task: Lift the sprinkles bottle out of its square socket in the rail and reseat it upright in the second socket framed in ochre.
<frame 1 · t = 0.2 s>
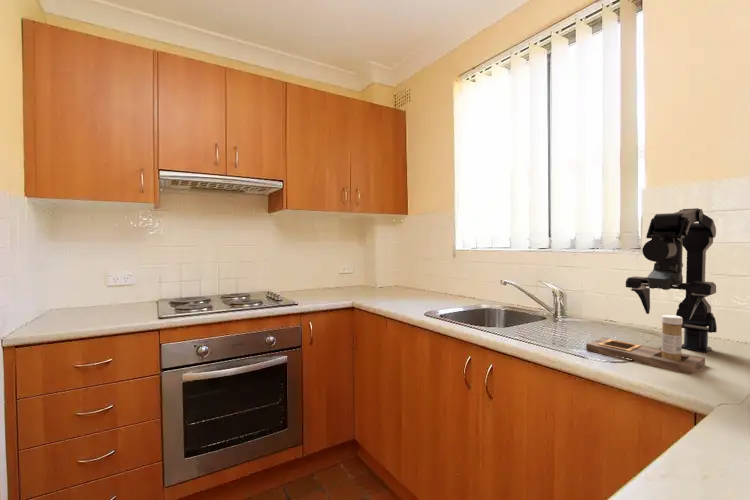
hand: (667, 316, 102), 14 cm above the counter, fingers open, 9 cm apart
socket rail: (641, 357, 110), on the counter
sprinkles bottle: (670, 364, 104), resting in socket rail
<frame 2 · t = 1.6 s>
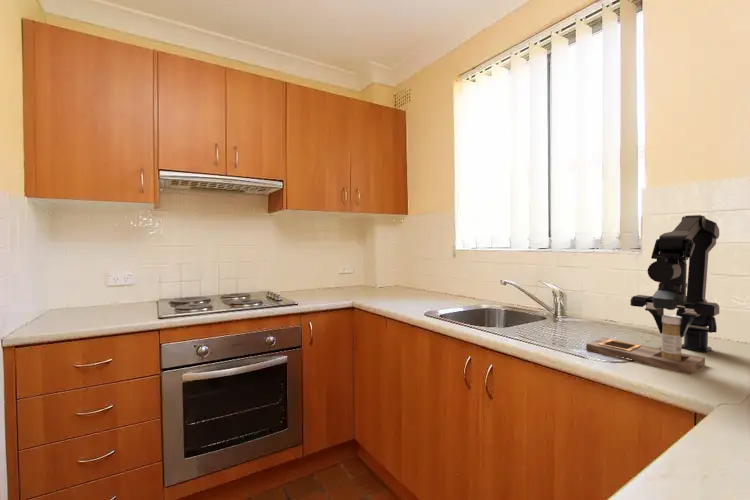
hand: (671, 335, 104), 8 cm above the counter, fingers closed on sprinkles bottle, 4 cm apart
sprinkles bottle: (670, 364, 104), resting in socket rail, touching gripper
when the fingers open (9 cm above the counter, at t = 5.4 s): sprinkles bottle drops 1 cm, resting in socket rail.
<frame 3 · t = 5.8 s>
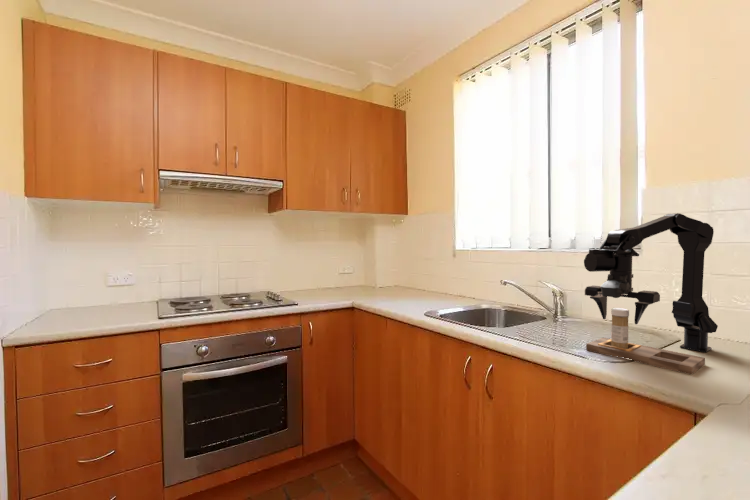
hand: (619, 321, 115), 9 cm above the counter, fingers open, 8 cm apart
sprinkles bottle: (619, 352, 115), resting in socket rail
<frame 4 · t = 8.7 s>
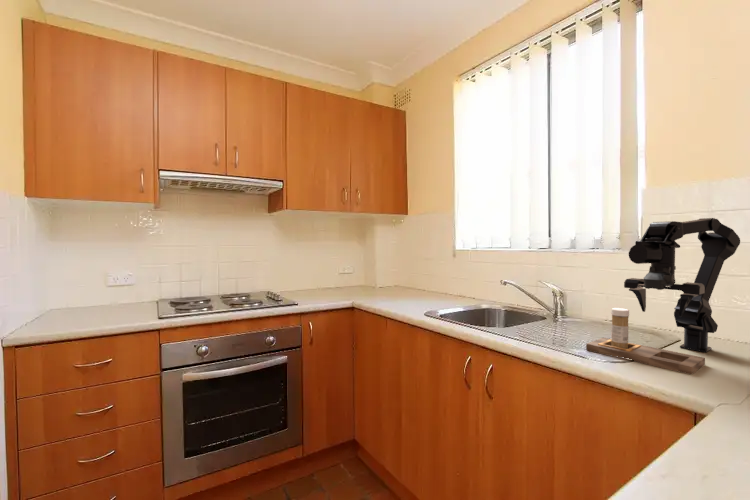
hand: (661, 314, 113), 12 cm above the counter, fingers open, 9 cm apart
nothing on the counter moved.
at the end: sprinkles bottle 0.1 cm from the target spot on the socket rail, point 0.0 cm above the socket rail's base; sprinkles bottle tilted 0°; the gripper is holding nothing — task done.
